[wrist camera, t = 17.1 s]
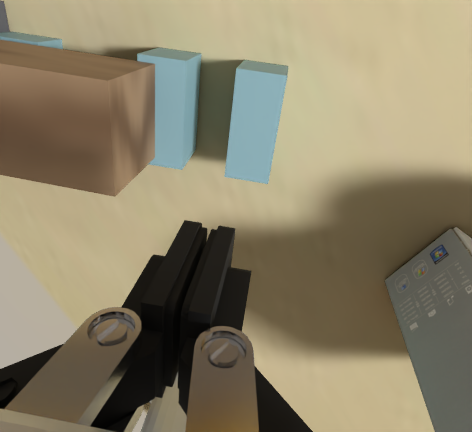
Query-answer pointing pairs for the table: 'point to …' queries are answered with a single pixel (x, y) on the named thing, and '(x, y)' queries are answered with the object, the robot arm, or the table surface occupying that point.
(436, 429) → the hard drive box
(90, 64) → the slab
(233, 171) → the block
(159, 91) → the block
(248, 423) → the robot arm
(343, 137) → the table surface
